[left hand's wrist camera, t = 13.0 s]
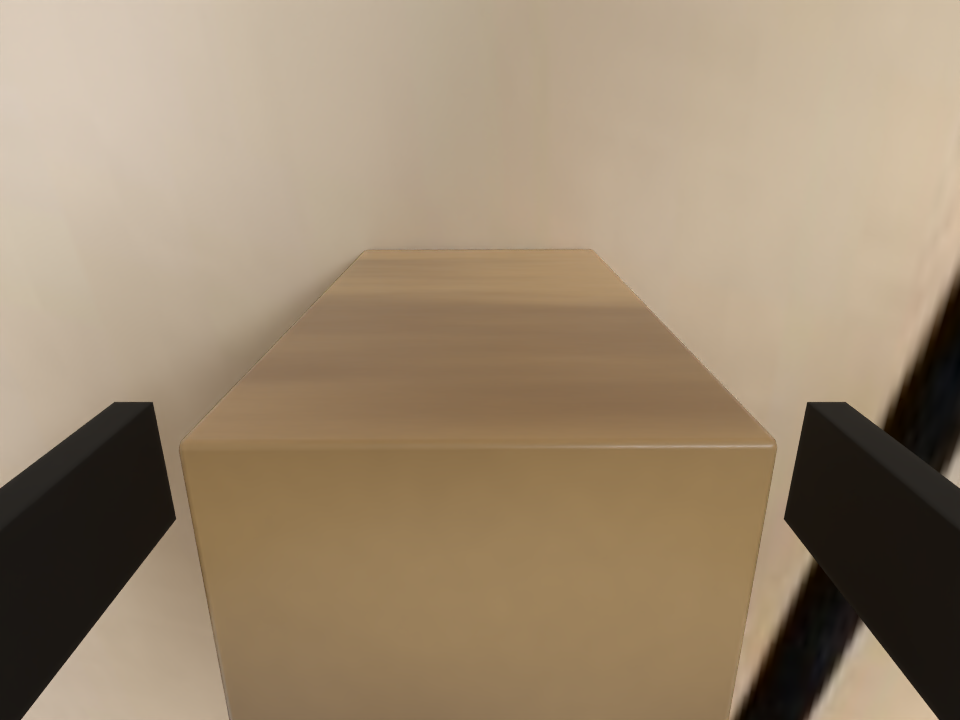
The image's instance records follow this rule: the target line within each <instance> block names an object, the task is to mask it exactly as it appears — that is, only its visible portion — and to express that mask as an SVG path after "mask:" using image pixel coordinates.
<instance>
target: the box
mask: <svg viewBox="0 0 960 720" xmlns="http://www.w3.org/2000/svg"><path fill="white" fill-rule="evenodd" d="M776 451H777V445H776V441H775V439H774V438H773V437H772V436H771V435H770V434H769V433H768V432H767V431H766V430H765V429H764V428H763V427H762V426H761V425H760V424H759V423H758V422H757V420H756V419H755V418H754V417H753V416H752V415H751V414H750V413H749V412H748V411H747V410H746V409H745V408H744V407H743V406H742V405H741V404H740V403H739V402H738V401H737V400H736V399H735V398H734V397H733V396H732V394H731V393H730V392H729V391H728V390H727V389H726V388H725V387H724V386H723V385H722V384H721V383H720V382H719V381H718V380H717V379H716V378H715V377H714V376H713V375H712V374H711V373H710V372H709V371H708V370H707V368H706V367H705V366H704V365H703V364H702V363H701V362H700V361H699V360H698V359H697V358H696V357H695V356H694V355H693V354H692V353H691V352H690V351H689V350H688V349H687V348H686V347H685V346H684V345H683V343H682V342H681V341H680V340H679V339H678V338H677V337H676V336H675V335H674V334H673V333H672V332H671V331H670V330H669V329H668V328H667V327H666V326H665V325H664V324H663V323H662V322H661V321H660V320H659V319H658V317H657V316H656V315H655V314H654V313H653V312H652V311H651V310H650V309H649V308H648V307H647V306H646V305H645V304H644V303H643V302H642V301H641V300H640V299H639V298H638V297H637V296H636V295H635V294H634V293H633V291H632V290H631V289H630V288H629V287H628V286H627V285H626V284H625V283H624V282H623V281H622V280H621V279H620V278H619V277H618V276H617V275H616V274H615V273H614V272H613V271H612V270H611V269H610V268H609V266H608V265H607V264H606V263H605V262H604V261H603V260H602V259H601V258H600V257H599V256H598V255H597V254H596V253H595V252H594V251H593V250H591V249H571V250H366V251H364V252H363V253H362V254H361V255H360V256H359V257H358V258H357V259H356V260H355V261H354V262H353V263H352V264H351V265H350V266H349V268H348V269H347V270H346V271H345V272H344V273H343V274H342V275H341V276H340V277H339V278H338V279H337V280H336V281H335V282H334V283H333V284H332V285H331V286H330V287H329V288H328V289H327V290H326V291H325V292H324V293H323V294H322V296H321V297H320V298H319V299H318V300H317V301H316V302H315V303H314V304H313V305H312V306H311V307H310V308H309V309H308V310H307V311H306V312H305V313H304V314H303V315H302V316H301V317H300V318H299V319H298V320H297V321H296V322H295V324H294V325H293V326H292V327H291V328H290V329H289V330H288V331H287V332H286V333H285V334H284V335H283V336H282V337H281V338H280V339H279V340H278V341H277V342H276V343H275V344H274V345H273V346H272V347H271V348H270V349H269V350H268V352H267V353H266V354H265V355H264V356H263V357H262V358H261V359H260V360H259V361H258V362H257V363H256V364H255V365H254V366H253V367H252V368H251V369H250V370H249V371H248V372H247V373H246V374H245V375H244V376H243V377H242V378H241V380H240V381H239V382H238V383H237V384H236V385H235V386H234V387H233V388H232V389H231V390H230V391H229V392H228V393H227V394H226V395H225V396H224V397H223V398H222V399H221V400H220V401H219V402H218V403H217V404H216V405H215V406H214V408H213V409H212V410H211V411H210V412H209V413H208V414H207V415H206V416H205V417H204V418H203V419H202V420H201V421H200V422H199V423H198V424H197V425H196V426H195V427H194V428H193V429H192V430H191V431H190V432H189V433H188V434H187V436H186V437H185V438H184V439H183V440H182V441H181V443H180V446H179V453H180V459H181V464H182V469H183V475H184V480H185V485H186V491H187V496H188V501H189V507H190V512H191V517H192V523H193V528H194V533H195V539H196V544H197V549H198V555H199V560H200V565H201V571H202V576H203V581H204V587H205V592H206V597H207V603H208V608H209V613H210V619H211V624H212V629H213V635H214V640H215V645H216V651H217V656H218V661H219V667H220V672H221V677H222V683H223V688H224V693H225V699H226V704H227V709H228V715H229V720H728V719H729V713H730V708H731V702H732V697H733V691H734V685H735V680H736V674H737V669H738V663H739V658H740V652H741V646H742V641H743V635H744V630H745V624H746V619H747V613H748V607H749V602H750V596H751V591H752V585H753V579H754V574H755V568H756V563H757V557H758V552H759V546H760V540H761V535H762V529H763V524H764V518H765V513H766V507H767V501H768V496H769V490H770V485H771V479H772V474H773V468H774V462H775V457H776Z"/></svg>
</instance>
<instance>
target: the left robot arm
mask: <svg viewBox="0 0 960 720" xmlns="http://www.w3.org/2000/svg"><path fill="white" fill-rule="evenodd" d="M175 520H176V516H175V511H174V506H173V501H172V496H171V491H170V486H169V481H168V476H167V471H166V466H165V461H164V456H163V451H162V446H161V441H160V436H159V431H158V426H157V421H156V416H155V411H154V406H153V402H114V403H113V404H111V405H110V406H109V407H107V408H106V409H105V410H103V411H102V412H101V413H99V414H98V415H97V416H95V417H94V418H93V419H92V420H90V421H89V422H88V423H86V424H85V425H84V426H82V427H81V428H80V429H78V430H77V431H76V432H74V433H73V434H72V435H70V436H69V437H68V438H66V439H65V440H64V441H62V442H61V443H60V444H58V445H57V446H56V447H54V448H53V449H52V450H50V451H49V452H48V453H47V454H45V455H44V456H43V457H41V458H40V459H39V460H37V461H36V462H35V463H33V464H32V465H31V466H29V467H28V468H27V469H25V470H24V471H23V472H21V473H20V474H19V475H17V476H16V477H15V478H13V479H12V480H11V481H9V482H8V483H7V484H5V485H4V486H3V487H2V488H0V720H21V719H22V718H23V716H24V715H25V714H26V712H27V711H28V710H29V709H30V707H31V706H32V705H33V703H34V702H35V701H36V700H37V698H38V697H39V696H40V694H41V693H42V692H43V690H44V689H45V688H46V687H47V685H48V684H49V683H50V681H51V680H52V679H53V678H54V676H55V675H56V674H57V672H58V671H59V670H60V668H61V667H62V666H63V665H64V663H65V662H66V661H67V659H68V658H69V657H70V656H71V654H72V653H73V652H74V650H75V649H76V648H77V647H78V645H79V644H80V643H81V641H82V640H83V639H84V637H85V636H86V635H87V634H88V632H89V631H90V630H91V628H92V627H93V626H94V625H95V623H96V622H97V621H98V619H99V618H100V617H101V615H102V614H103V613H104V612H105V610H106V609H107V608H108V606H109V605H110V604H111V603H112V601H113V600H114V599H115V597H116V596H117V595H118V593H119V592H120V591H121V590H122V588H123V587H124V586H125V584H126V583H127V582H128V581H129V579H130V578H131V577H132V575H133V574H134V573H135V572H136V570H137V569H138V568H139V566H140V565H141V564H142V562H143V561H144V560H145V559H146V557H147V556H148V555H149V553H150V552H151V551H152V550H153V548H154V547H155V546H156V544H157V543H158V542H159V540H160V539H161V538H162V537H163V535H164V534H165V533H166V531H167V530H168V529H169V528H170V526H171V525H172V524H173V522H174V521H175ZM784 520H785V521H786V522H787V524H788V525H789V526H790V528H791V529H792V530H793V531H794V533H795V534H796V535H797V537H798V538H799V539H800V540H801V542H802V543H803V544H804V546H805V547H806V548H807V550H808V551H809V552H810V553H811V555H812V556H813V557H814V559H815V560H816V561H817V562H818V564H819V565H820V566H821V568H822V569H823V570H824V572H825V573H826V574H827V575H828V577H829V578H830V579H831V581H832V582H833V583H834V584H835V586H836V587H837V588H838V590H839V591H840V592H841V593H842V595H843V596H844V597H845V599H846V600H847V601H848V603H849V604H850V605H851V606H852V608H853V609H854V610H855V612H856V613H857V614H858V615H859V617H860V618H861V619H862V621H863V622H864V623H865V625H866V626H867V627H868V628H869V630H870V631H871V632H872V634H873V635H874V636H875V637H876V639H877V640H878V641H879V643H880V644H881V645H882V647H883V648H884V649H885V650H886V652H887V653H888V654H889V656H890V657H891V658H892V659H893V661H894V662H895V663H896V665H897V666H898V667H899V668H900V670H901V671H902V672H903V674H904V675H905V676H906V678H907V679H908V680H909V681H910V683H911V684H912V685H913V687H914V688H915V689H916V690H917V692H918V693H919V694H920V696H921V697H922V698H923V700H924V701H925V702H926V703H927V705H928V706H929V707H930V709H931V710H932V711H933V712H934V714H935V715H936V716H937V718H938V719H939V720H960V488H958V487H957V486H956V485H955V484H953V483H952V482H951V481H949V480H948V479H947V478H945V477H944V476H943V475H941V474H940V473H939V472H937V471H936V470H935V469H933V468H932V467H931V466H929V465H928V464H927V463H925V462H924V461H923V460H921V459H920V458H919V457H917V456H916V455H915V454H913V453H912V452H911V451H910V450H908V449H907V448H906V447H904V446H903V445H902V444H900V443H899V442H898V441H896V440H895V439H894V438H892V437H891V436H890V435H888V434H887V433H886V432H884V431H883V430H882V429H880V428H879V427H878V426H876V425H875V424H874V423H872V422H871V421H870V420H868V419H867V418H866V417H865V416H863V415H862V414H861V413H859V412H858V411H857V410H855V409H854V408H853V407H851V406H850V405H849V404H847V403H846V402H807V406H806V411H805V416H804V421H803V426H802V431H801V436H800V441H799V446H798V451H797V456H796V461H795V466H794V471H793V476H792V481H791V486H790V491H789V496H788V501H787V506H786V511H785V516H784Z"/></svg>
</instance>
